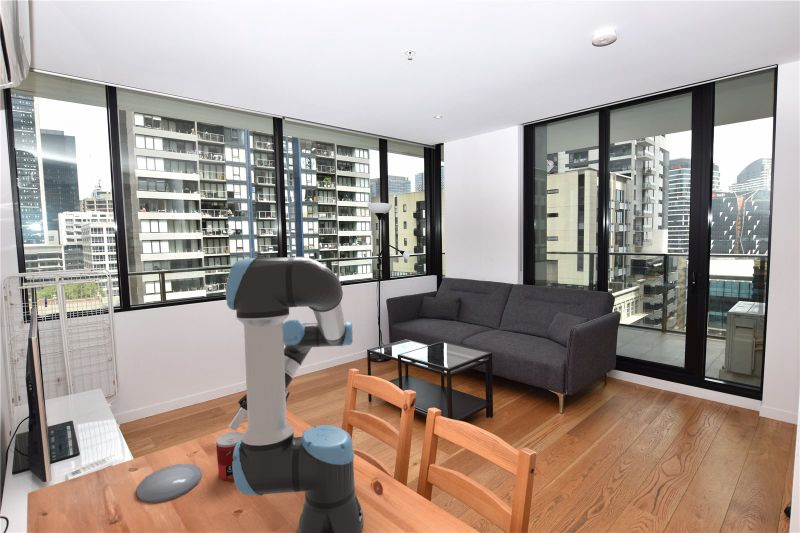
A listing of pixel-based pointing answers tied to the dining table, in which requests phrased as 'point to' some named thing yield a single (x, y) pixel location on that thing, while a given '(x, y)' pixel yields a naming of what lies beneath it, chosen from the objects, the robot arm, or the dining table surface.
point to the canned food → (226, 454)
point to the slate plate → (169, 483)
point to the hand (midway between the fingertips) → (243, 435)
